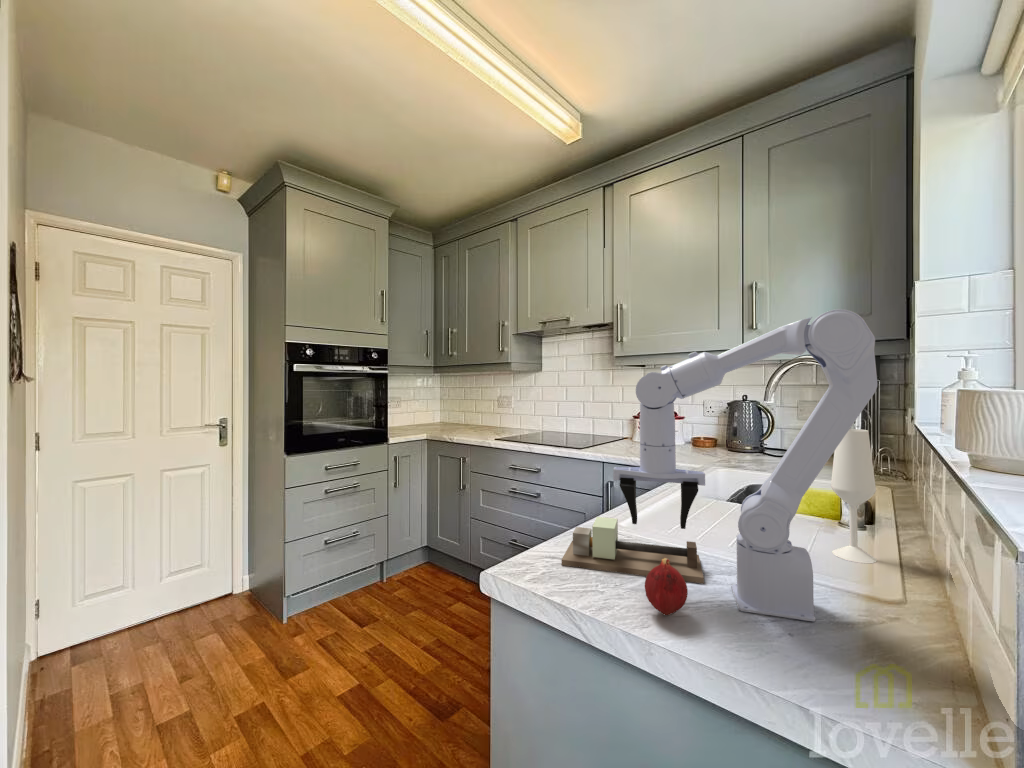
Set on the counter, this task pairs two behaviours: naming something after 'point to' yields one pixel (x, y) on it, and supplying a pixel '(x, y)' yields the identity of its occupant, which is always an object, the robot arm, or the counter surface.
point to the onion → (666, 588)
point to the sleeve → (605, 537)
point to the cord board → (633, 557)
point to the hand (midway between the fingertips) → (658, 524)
